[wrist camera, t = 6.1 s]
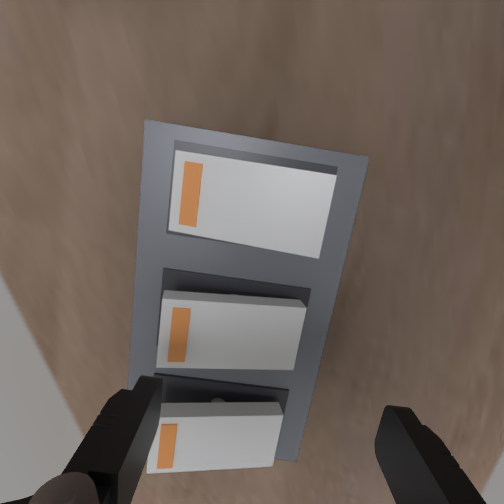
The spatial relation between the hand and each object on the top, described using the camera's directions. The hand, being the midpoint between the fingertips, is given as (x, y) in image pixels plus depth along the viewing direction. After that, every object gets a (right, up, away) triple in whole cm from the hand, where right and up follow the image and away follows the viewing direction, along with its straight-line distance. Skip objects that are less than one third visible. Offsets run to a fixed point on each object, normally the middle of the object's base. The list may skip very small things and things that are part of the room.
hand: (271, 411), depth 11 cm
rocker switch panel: (-2, +3, +9) cm, 10 cm away
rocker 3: (-3, -4, +6) cm, 8 cm away
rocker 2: (-2, +2, +5) cm, 6 cm away
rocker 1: (-1, +8, +3) cm, 9 cm away
